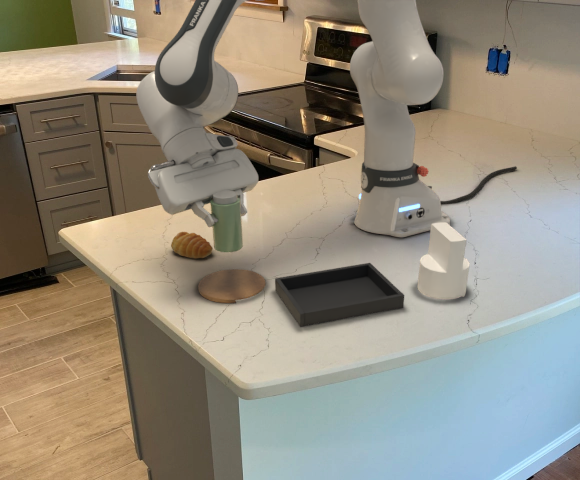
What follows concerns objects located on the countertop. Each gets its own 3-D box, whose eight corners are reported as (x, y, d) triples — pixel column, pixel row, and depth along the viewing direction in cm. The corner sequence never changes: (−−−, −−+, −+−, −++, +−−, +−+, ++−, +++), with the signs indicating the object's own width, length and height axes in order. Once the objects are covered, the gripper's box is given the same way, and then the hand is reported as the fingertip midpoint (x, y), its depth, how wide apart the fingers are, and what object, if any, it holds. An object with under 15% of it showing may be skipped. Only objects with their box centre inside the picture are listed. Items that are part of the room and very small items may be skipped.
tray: (369, 276, 124) (370, 262, 123) (403, 310, 113) (404, 295, 111) (275, 292, 119) (274, 278, 118) (300, 329, 107) (300, 314, 106)
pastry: (220, 252, 136) (219, 236, 134) (198, 263, 131) (196, 247, 129) (190, 242, 141) (188, 226, 139) (168, 253, 136) (165, 236, 134)
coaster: (255, 268, 129) (255, 265, 128) (273, 296, 118) (273, 292, 118) (192, 278, 125) (192, 274, 125) (206, 308, 115) (205, 304, 114)
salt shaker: (246, 242, 119) (243, 189, 114) (238, 253, 114) (235, 199, 109) (219, 240, 120) (214, 188, 114) (210, 251, 115) (205, 198, 110)
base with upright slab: (473, 299, 116) (483, 238, 109) (428, 304, 114) (435, 243, 108) (453, 278, 123) (460, 220, 117) (410, 283, 122) (415, 224, 115)
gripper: (148, 157, 106) (188, 226, 105) (241, 135, 118) (277, 197, 117) (138, 177, 111) (175, 243, 110) (228, 154, 123) (262, 214, 122)
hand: (228, 219), depth 114 cm, fingers closed on salt shaker, 5 cm apart
